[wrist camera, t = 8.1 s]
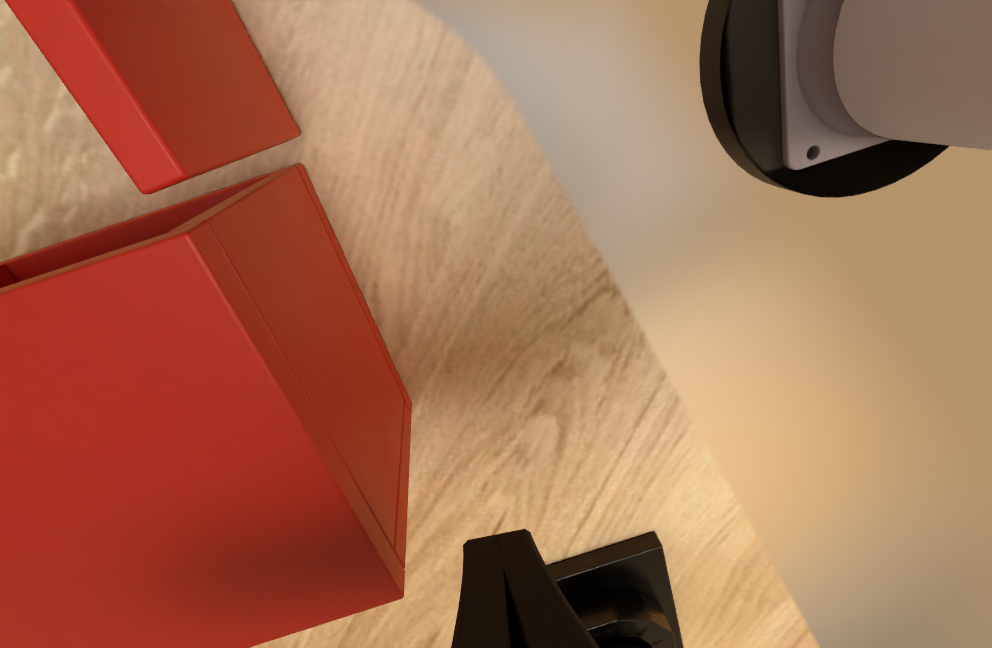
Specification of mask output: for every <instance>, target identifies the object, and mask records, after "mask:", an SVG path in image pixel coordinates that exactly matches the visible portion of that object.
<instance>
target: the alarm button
mask: <svg viewBox="0 0 992 648" xmlns="http://www.w3.org/2000/svg"><path fill="white" fill-rule="evenodd" d="M596 643H597V645H598V646H599V647H600V648H645V645H644V644H643V642H642V641H641V640H640V639H638V638H637V637H612V638H609V639H606V640H602V641H599V642H596Z"/></svg>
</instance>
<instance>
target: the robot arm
mask: <svg viewBox="0 0 992 648" xmlns="http://www.w3.org/2000/svg"><path fill="white" fill-rule="evenodd" d="M777 2H778V33H779V63H780V94H781V125H782V156H783V163H784V165H785V166H786V167H787V168H789V169H793V170H799V169H803V168H806V167H809V166H812V165H815V164H818V163H821V162H824V161H827V160H830V159H833V158H837V157H840V156H843V155H846V154H849V153H852V152H855V151H858V150H861V149H864V148H867V147H870V146H873V145H876V144H879V143H882V142H885V141H888V140H892V139H895V140H904V141H913V142H923V143H932V144H941V145H950V146H960V147H968V148H978V149H986V150H992V0H777ZM810 147H812V149H813V150H812V154H811V155H810V156H809V157H808V158H807V151H808V150H809V148H810ZM451 648H600V647H599V646H598V645H597V643H596V642H595V641H594V639H593V638H592V636H591V635H590V634H589V632H588V631H587V629H586V628H585V627H584V625H583V624H582V622H581V621H580V619H579V618H578V616H577V615H576V613H575V612H574V610H573V609H572V607H571V606H570V604H569V603H568V601H567V600H566V598H565V596H564V595H563V593H562V592H561V590H560V588H559V587H558V585H557V583H556V582H555V580H554V578H553V577H552V575H551V573H550V571H549V570H548V568H547V566H546V564H545V563H544V561H543V559H542V557H541V555H540V553H539V551H538V549H537V547H536V545H535V543H534V540H533V538H532V536H531V533H530V532H529V531H527V530H526V529H522V530H517V531H512V532H507V533H502V534H497V535H492V536H487V537H482V538H477V539H472V540H468V541H467V542H466V543H465V544H464V545H463V575H462V586H461V593H460V601H459V608H458V613H457V619H456V624H455V630H454V636H453V641H452V646H451Z"/></svg>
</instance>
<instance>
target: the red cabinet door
mask: <svg viewBox="0 0 992 648" xmlns="http://www.w3.org/2000/svg"><path fill="white" fill-rule="evenodd" d="M5 1H6V3H7V4H8V6H9V7H10V8H11V10H12V11H13V13H14V14H15V15H16V17H17V18H18V20H19V21H20V22H21V24H22V25H23V27H24V28H25V30H26V31H27V32H28V34H29V35H30V37H31V38H32V39H33V41H34V42H35V44H36V45H37V46H38V48H39V49H40V51H41V52H42V54H43V55H44V56H45V58H46V59H47V61H48V62H49V63H50V65H51V66H52V68H53V69H54V70H55V72H56V73H57V75H58V76H59V78H60V79H61V80H62V82H63V83H64V85H65V86H66V87H67V89H68V90H69V92H70V93H71V94H72V96H73V97H74V99H75V100H76V102H77V103H78V104H79V106H80V107H81V109H82V110H83V111H84V113H85V114H86V116H87V117H88V119H89V120H90V121H91V123H92V124H93V126H94V127H95V128H96V130H97V131H98V133H99V134H100V135H101V137H102V138H103V140H104V141H105V143H106V144H107V145H108V147H109V148H110V150H111V151H112V152H113V154H114V155H115V157H116V158H117V159H118V161H119V162H120V164H121V165H122V167H123V168H124V169H125V171H126V172H127V174H128V175H129V176H130V178H131V179H132V181H133V182H134V183H135V185H136V186H137V188H138V189H139V191H140V192H142V193H143V194H152V193H154V192H157V191H159V190H162V189H165V188H167V187H170V186H172V185H175V184H178V183H180V182H183V181H185V180H188V179H191V178H193V177H196V176H198V175H201V174H204V173H206V172H209V171H211V170H214V169H217V168H219V167H222V166H224V165H227V164H230V163H232V162H235V161H237V160H240V159H243V158H245V157H248V156H250V155H253V154H256V153H258V152H261V151H263V150H266V149H269V148H271V147H274V146H276V145H279V144H281V143H284V142H286V141H288V140H291V139H293V138H295V137H298V136H299V135H300V132H299V130H298V128H297V126H296V124H295V122H294V121H293V119H292V117H291V115H290V113H289V111H288V109H287V107H286V105H285V104H284V102H283V100H282V98H281V96H280V94H279V92H278V90H277V89H276V87H275V85H274V83H273V81H272V79H271V77H270V75H269V73H268V72H267V70H266V68H265V66H264V64H263V62H262V60H261V58H260V57H259V55H258V53H257V51H256V49H255V47H254V45H253V43H252V41H251V40H250V38H249V36H248V34H247V32H246V30H245V28H244V26H243V25H242V23H241V21H240V19H239V17H238V15H237V13H236V11H235V9H234V8H233V6H232V4H231V2H230V0H5Z"/></svg>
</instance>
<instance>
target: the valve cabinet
mask: <svg viewBox="0 0 992 648" xmlns="http://www.w3.org/2000/svg"><path fill="white" fill-rule="evenodd" d="M411 413H412V403H411V401H410V399H409V396H408V394H407V392H406V390H405V388H404V385H403V383H402V381H401V379H400V377H399V374H398V372H397V370H396V368H395V366H394V363H393V361H392V359H391V357H390V355H389V352H388V350H387V348H386V346H385V344H384V342H383V339H382V337H381V335H380V333H379V331H378V328H377V326H376V324H375V322H374V320H373V317H372V315H371V313H370V311H369V309H368V306H367V304H366V302H365V300H364V298H363V295H362V293H361V291H360V289H359V287H358V284H357V282H356V280H355V278H354V276H353V274H352V271H351V269H350V267H349V265H348V263H347V260H346V258H345V256H344V254H343V252H342V249H341V247H340V245H339V243H338V241H337V238H336V236H335V234H334V232H333V230H332V227H331V225H330V223H329V221H328V219H327V217H326V214H325V212H324V210H323V208H322V206H321V203H320V201H319V199H318V197H317V195H316V192H315V190H314V188H313V186H312V184H311V181H310V179H309V177H308V175H307V173H306V170H305V168H304V166H303V165H302V164H301V163H298V164H295V165H292V166H289V167H286V168H283V169H280V170H277V171H274V172H271V173H268V174H265V175H262V176H259V177H256V178H253V179H250V180H247V181H244V182H241V183H238V184H235V185H232V186H229V187H226V188H223V189H220V190H217V191H214V192H211V193H208V194H205V195H202V196H199V197H196V198H193V199H190V200H187V201H184V202H181V203H178V204H175V205H172V206H169V207H166V208H163V209H160V210H157V211H153V212H150V213H147V214H144V215H141V216H138V217H135V218H132V219H129V220H126V221H123V222H120V223H117V224H114V225H111V226H108V227H105V228H102V229H99V230H96V231H93V232H90V233H87V234H84V235H81V236H78V237H75V238H72V239H69V240H66V241H63V242H60V243H57V244H54V245H51V246H48V247H45V248H42V249H39V250H36V251H33V252H30V253H27V254H24V255H21V256H18V257H15V258H12V259H9V260H6V261H3V262H0V648H249V647H252V646H255V645H258V644H261V643H265V642H268V641H271V640H274V639H277V638H280V637H283V636H287V635H290V634H293V633H296V632H299V631H302V630H305V629H308V628H312V627H315V626H318V625H321V624H324V623H327V622H330V621H333V620H337V619H340V618H343V617H346V616H349V615H352V614H355V613H359V612H362V611H365V610H368V609H371V608H374V607H377V606H380V605H384V604H387V603H390V602H393V601H396V600H399V599H402V598H403V597H404V581H405V571H404V568H405V553H406V530H407V507H408V484H409V461H410V438H411Z"/></svg>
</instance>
